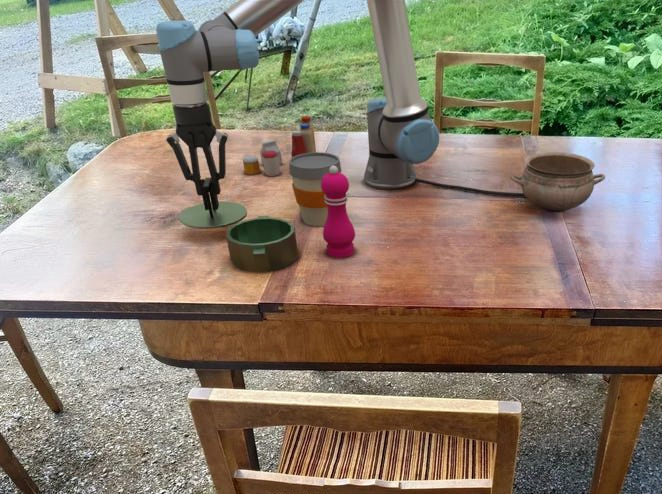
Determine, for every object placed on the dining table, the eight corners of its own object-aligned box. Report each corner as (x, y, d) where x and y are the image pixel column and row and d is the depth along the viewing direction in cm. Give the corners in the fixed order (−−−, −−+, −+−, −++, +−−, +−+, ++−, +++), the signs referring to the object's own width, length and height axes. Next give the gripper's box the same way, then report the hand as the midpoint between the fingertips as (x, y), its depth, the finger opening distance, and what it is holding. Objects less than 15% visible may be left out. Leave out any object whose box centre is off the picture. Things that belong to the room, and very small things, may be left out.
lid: (249, 204, 153) (243, 169, 147) (245, 229, 140) (238, 192, 135) (185, 207, 150) (177, 172, 145) (175, 233, 138) (165, 195, 133)
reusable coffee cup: (286, 224, 151) (277, 164, 142) (310, 206, 161) (304, 149, 152) (330, 232, 148) (325, 171, 139) (353, 213, 157) (349, 155, 149)
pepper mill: (331, 261, 135) (322, 173, 123) (320, 248, 140) (311, 163, 128) (361, 255, 138) (355, 168, 126) (349, 243, 143) (343, 158, 131)
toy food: (310, 151, 198) (305, 113, 191) (334, 161, 191) (330, 121, 184) (238, 170, 183) (230, 129, 176) (261, 181, 176) (254, 139, 169)
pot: (297, 236, 146) (294, 211, 142) (297, 275, 130) (294, 247, 126) (235, 240, 143) (230, 214, 140) (227, 280, 127) (221, 252, 124)
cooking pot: (513, 223, 154) (518, 175, 146) (502, 195, 169) (505, 151, 162) (609, 221, 155) (619, 174, 148) (589, 194, 170) (597, 150, 163)
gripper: (226, 98, 134) (244, 200, 148) (158, 99, 132) (182, 203, 146) (223, 106, 128) (242, 212, 142) (151, 108, 126) (178, 215, 140)
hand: (212, 207), depth 144 cm, fingers closed on lid, 1 cm apart
